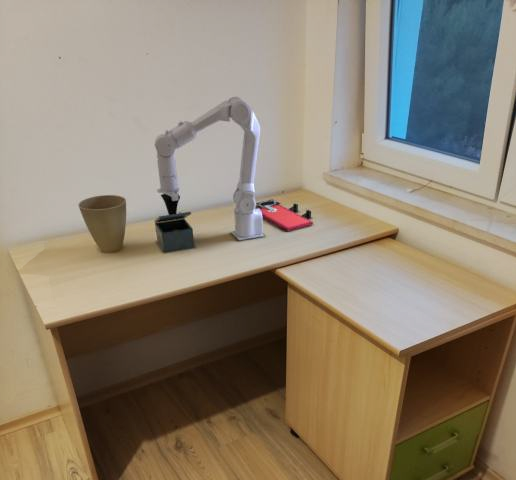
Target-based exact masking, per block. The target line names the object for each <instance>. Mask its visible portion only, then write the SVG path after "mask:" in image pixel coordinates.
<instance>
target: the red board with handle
mask: <svg viewBox="0 0 516 480" xmlns="http://www.w3.org/2000/svg"><path fill="white" fill-rule="evenodd" d="M292 205H293V206H291V207H289V208H287V207H285V206H283V205H282V203H281V202H279V201H276V200H274V199H273V198H272V199H268V200H263V201H259V202H256V206H258V207H260V208H259V209H260V211H261V213H262V217H263V218H264V219H265V220H267V221H268V222H271V223H272V224H274V225H275V226H277V227H279V228H281V229H283V230H284V231H287V232H290V231H294V230H298V229H300V228H305V227H308V226H311V225H313V224H314V222H313V221H312V220H310V219H312V211H311V210H309V209H306V210H305V213H303V214H301V215H300V214H299V204H298V203H293V204H292Z"/></svg>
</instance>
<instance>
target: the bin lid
mask: <svg viewBox="0 0 516 480" xmlns="http://www.w3.org/2000/svg"><path fill="white" fill-rule="evenodd" d="M191 215H192V212H191V211H187V212H181V213H180V212H179V213H176V214H172V215H169V214H166V215H165V214H164V215H159V216H158V217H156V219H154V224H155V223H159V222H165V221H172V220H179V219H187V218H188V217H189V216H191Z"/></svg>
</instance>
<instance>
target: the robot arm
mask: <svg viewBox="0 0 516 480" xmlns="http://www.w3.org/2000/svg"><path fill="white" fill-rule="evenodd" d="M231 120H232V121H233V122H234V123H236V125H238V126H239V127H240V128H241V129H242V131H243V132H244V133H243V140H242V148H241V149H242V150H241V159H240V170H239V178H238V181H237V184H236V189H235V190H234V192H233V194H232V199H233V202H234V204H235V206H234V207H235V208H234V209H233V211H234V230H233V231H231V234H232V235H233V236H234V237H235V238H236V239H237V240H238V241H244V240H250V239H255V238H261V237H264V236H265V235H264V219H263V218H264V217H262V213H261V211H260V209H261V208H256V207H257V204H256V203H257V201H256V197H255V193H256V192H255V191H256V190H255V184H254V183H255V177H256V168H257V160H258V151H259V142H260V137H261V126H260V123H259V120H258V119H257V117H256V115H255V111H254V108H252V107H251V106H250V105H249V104H248V103H247V102H245V101H244V100H243V99H242V98H241V97H239V96H232V97H230V98H229V99H228V100H224V101H222V102H220V103H218V104H217V105H216V106H214V107H212V108H211V109H209V110H208V111H207V112H205V113H204V114H202V115H201V116H199V117H197V118H195V120H193V121H192V122H191V121H187V120H184V121H182V120H180V121H178V122H177V124H178V125H176V126H175V127H173V128H171V129H170V130H168V129H166V130H164V133H161V134H158V136H156V138H155V140H154V147H155V149H156V153H157V154H156V159H157V163H156V164H157V171H158V178H159V186H160V188H157V189H156V191H157V193H158V194H160V197H161V198H162V200H163V202H164V204H165V207H166V211H167V215H172V214H178V212H177V211H178V205H179V201H180V200H181V196H180V194H179V192H180V187H179V181H178V171H177V161H176V158H175V152H176V150H179V149H180V148H182V147H183V146H186V145H187V144H189V143H190V142H192V141H194V140H195V139H196V138H197V133H199V132H201V131H202V130H204V129H207V128H208V127H210V126H212V125H214V124H215V123H218V122H220V121H221V122H228V123H229V122H231Z"/></svg>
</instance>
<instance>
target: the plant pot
mask: <svg viewBox="0 0 516 480" xmlns="http://www.w3.org/2000/svg"><path fill="white" fill-rule="evenodd" d="M77 205H78V209H79V212H80V214H81V217H82V219H83V221H84V224H85V225H86V228H87V230H88V233H89V234H90V236H91V238H92V239H93V241H94V242H95V243H96V244H95V245H96V246H97V247H98V249H99V250H100V251H101V252H103V253H115V252H118V251H120V250H122V248H123V245H124V240H125V234H126V225H127V199H126V198H125V197H124V196H121V195H116V194H104V195H95V196H90V197H88V198H87V197H86V198H84V199H82V200H80V201H79V203H78V204H77Z"/></svg>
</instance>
